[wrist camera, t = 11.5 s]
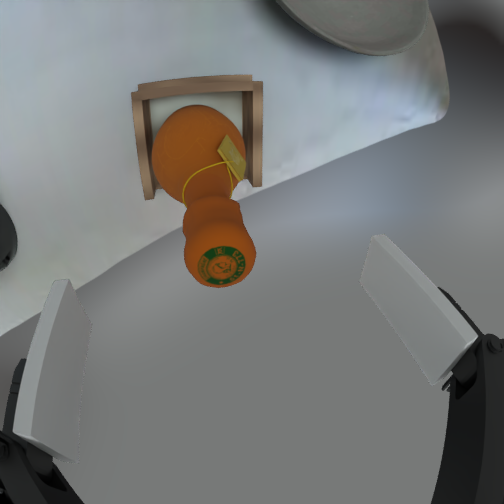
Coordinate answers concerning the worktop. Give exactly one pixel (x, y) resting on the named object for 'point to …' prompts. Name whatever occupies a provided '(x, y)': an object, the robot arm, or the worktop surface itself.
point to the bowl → (362, 23)
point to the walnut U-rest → (199, 93)
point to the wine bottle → (206, 191)
